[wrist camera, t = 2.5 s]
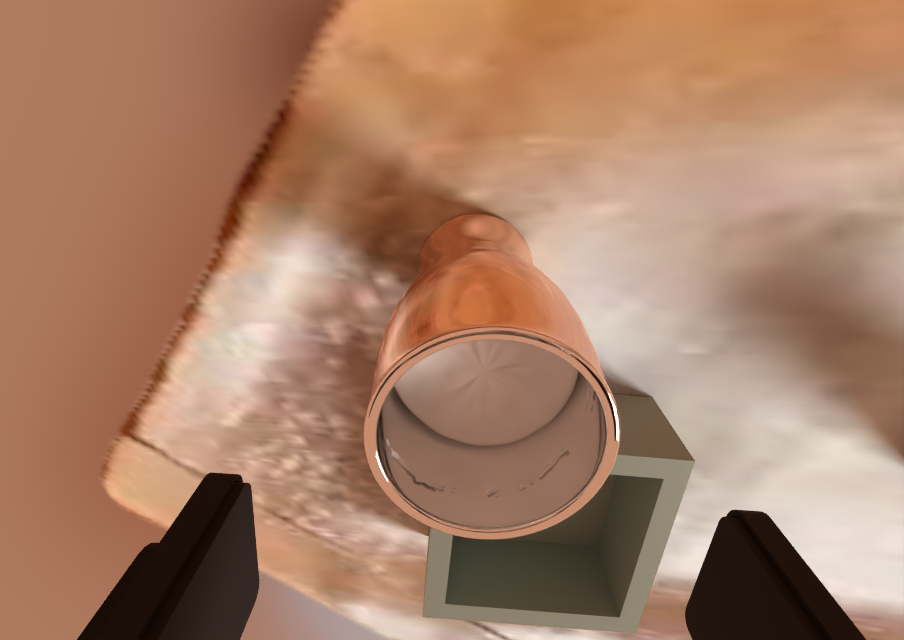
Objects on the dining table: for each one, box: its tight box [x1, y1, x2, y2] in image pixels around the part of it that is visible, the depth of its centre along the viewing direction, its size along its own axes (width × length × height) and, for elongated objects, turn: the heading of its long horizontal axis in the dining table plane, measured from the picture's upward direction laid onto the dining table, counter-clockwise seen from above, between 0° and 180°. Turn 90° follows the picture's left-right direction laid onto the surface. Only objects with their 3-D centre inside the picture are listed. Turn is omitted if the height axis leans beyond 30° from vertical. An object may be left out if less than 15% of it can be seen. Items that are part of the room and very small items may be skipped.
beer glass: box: [364, 214, 620, 539], centre depth 20 cm, size 7×7×15 cm
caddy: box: [423, 394, 695, 633], centre depth 29 cm, size 12×12×6 cm
